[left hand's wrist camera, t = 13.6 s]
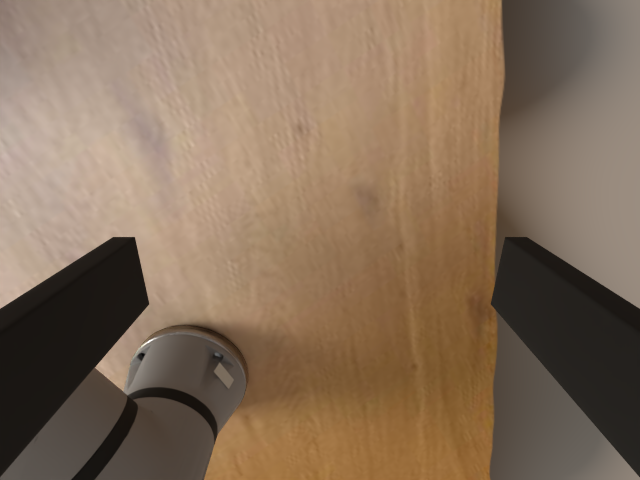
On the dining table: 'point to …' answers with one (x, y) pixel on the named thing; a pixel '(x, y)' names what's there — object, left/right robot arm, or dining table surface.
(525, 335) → the left robot arm
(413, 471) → the dining table surface
